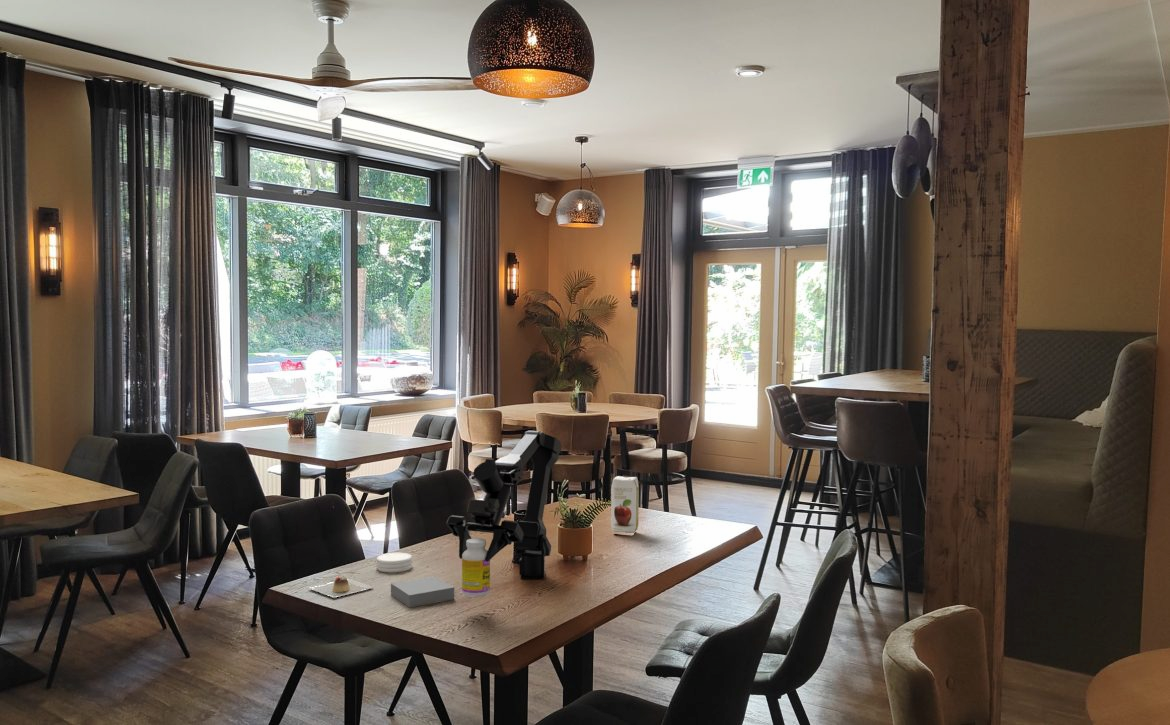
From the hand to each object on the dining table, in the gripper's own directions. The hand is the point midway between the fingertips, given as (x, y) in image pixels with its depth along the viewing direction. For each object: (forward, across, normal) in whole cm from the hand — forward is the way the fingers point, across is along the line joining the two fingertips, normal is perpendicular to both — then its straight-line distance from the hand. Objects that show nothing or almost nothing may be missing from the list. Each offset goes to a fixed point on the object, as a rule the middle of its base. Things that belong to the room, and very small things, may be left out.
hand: (473, 559), depth 201 cm
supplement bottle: (+5, 0, +7) cm, 9 cm away
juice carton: (-55, +8, +75) cm, 94 cm away
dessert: (+7, -41, +13) cm, 44 cm away
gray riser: (+4, -18, +14) cm, 24 cm away
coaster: (-10, -40, +29) cm, 51 cm away
